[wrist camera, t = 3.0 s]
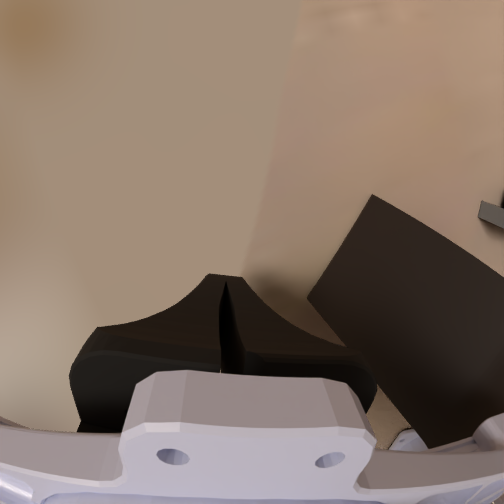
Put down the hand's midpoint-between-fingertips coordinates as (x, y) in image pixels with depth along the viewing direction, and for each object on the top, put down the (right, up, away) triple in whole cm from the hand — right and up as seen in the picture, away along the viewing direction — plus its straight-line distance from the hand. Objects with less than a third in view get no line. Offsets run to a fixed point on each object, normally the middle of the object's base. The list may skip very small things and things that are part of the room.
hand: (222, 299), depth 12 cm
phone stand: (+9, 0, +5) cm, 10 cm away
